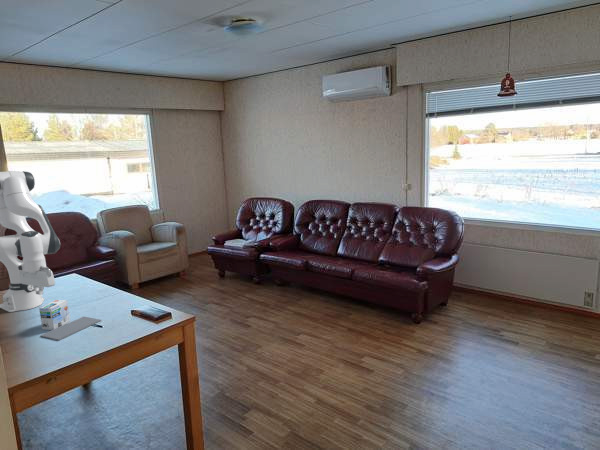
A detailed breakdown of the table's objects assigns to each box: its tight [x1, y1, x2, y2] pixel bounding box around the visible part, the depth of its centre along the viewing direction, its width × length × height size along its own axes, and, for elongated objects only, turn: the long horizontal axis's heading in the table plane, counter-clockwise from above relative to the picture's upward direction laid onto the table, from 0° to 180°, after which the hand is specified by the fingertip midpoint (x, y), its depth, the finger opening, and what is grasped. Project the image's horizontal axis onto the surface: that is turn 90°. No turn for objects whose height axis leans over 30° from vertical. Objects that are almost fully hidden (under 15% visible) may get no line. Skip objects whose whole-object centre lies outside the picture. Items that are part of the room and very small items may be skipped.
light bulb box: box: [38, 299, 71, 331], centre depth 197 cm, size 11×7×11 cm, turn 168°
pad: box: [40, 316, 102, 342], centre depth 194 cm, size 12×22×1 cm, turn 156°
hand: (39, 294), depth 199 cm, fingers closed
